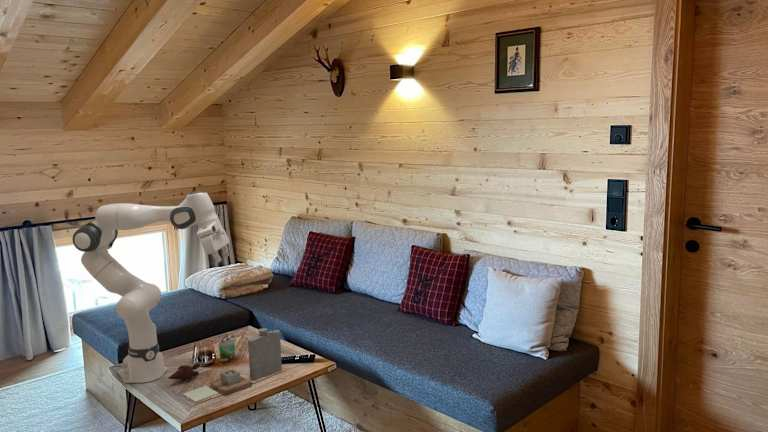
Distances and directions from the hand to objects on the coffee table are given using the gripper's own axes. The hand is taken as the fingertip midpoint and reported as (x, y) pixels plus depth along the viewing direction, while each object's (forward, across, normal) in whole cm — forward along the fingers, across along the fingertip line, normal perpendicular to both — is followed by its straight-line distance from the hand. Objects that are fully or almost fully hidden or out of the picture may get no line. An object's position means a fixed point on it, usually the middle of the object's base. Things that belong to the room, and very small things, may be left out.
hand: (223, 259), depth 249 cm
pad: (+46, +16, -24) cm, 55 cm away
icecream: (+43, +3, -34) cm, 55 cm away
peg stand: (+50, +9, -14) cm, 52 cm away
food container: (+47, -21, -23) cm, 56 cm away
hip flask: (+54, -4, -3) cm, 54 cm away
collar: (+48, +9, -13) cm, 50 cm away
